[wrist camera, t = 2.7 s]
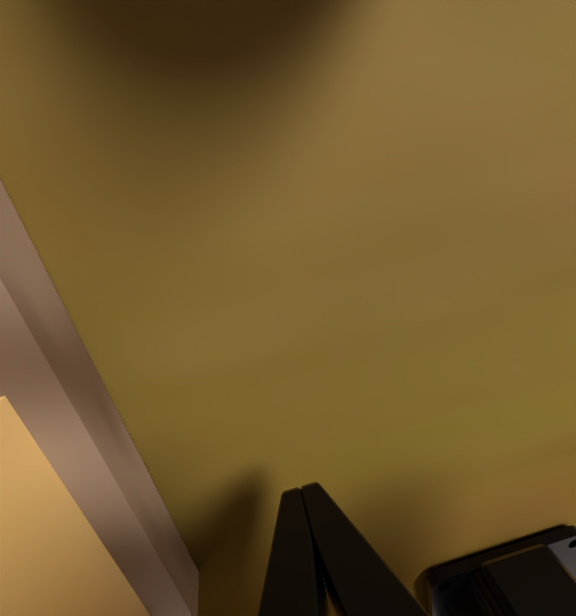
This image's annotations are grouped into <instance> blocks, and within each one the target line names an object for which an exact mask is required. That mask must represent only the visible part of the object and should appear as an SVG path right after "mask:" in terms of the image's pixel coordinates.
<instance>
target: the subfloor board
mask: <svg viewBox="0 0 576 616" xmlns="http://www.w3.org/2000/svg"><path fill="white" fill-rule="evenodd" d="M2 396H6V398H7V399H8V401H9V402H10V404H11V406H12V407H13V409H14V410H15V412H16V413H17V415H18V416H19V418H20V419H21V421H22V422H23V424H24V425H25V427H26V428H27V430H28V431H29V433H30V434H31V436H32V437H33V439H34V440H35V442H36V443H37V445H38V446H39V448H40V449H41V451H42V452H43V454H44V455H45V457H46V458H47V460H48V461H49V463H50V464H51V466H52V467H53V469H54V471H55V472H56V474H57V475H58V477H59V478H60V480H61V481H62V483H63V484H64V486H65V487H66V489H67V490H68V492H69V493H70V495H71V496H72V498H73V499H74V501H75V502H76V504H77V505H78V507H79V508H80V510H81V511H82V513H83V514H84V516H85V517H86V519H87V520H88V522H89V523H90V525H91V526H92V528H93V529H94V531H95V533H96V534H97V536H98V537H99V539H100V540H101V542H102V543H103V545H104V546H105V548H106V549H107V551H108V552H109V554H110V555H111V557H112V558H113V560H114V561H115V563H116V564H117V566H118V567H119V569H120V570H121V572H122V573H123V575H124V576H125V578H126V579H127V581H128V582H129V584H130V585H131V587H132V588H133V590H134V591H135V593H136V594H137V596H138V598H139V599H140V601H141V602H142V604H143V605H144V607H145V608H146V610H147V611H148V613H149V614H150V616H198V592H199V571H198V569H197V567H196V565H195V563H194V561H193V559H192V557H191V556H190V554H189V552H188V550H187V548H186V546H185V544H184V542H183V540H182V538H181V536H180V534H179V532H178V530H177V528H176V526H175V524H174V522H173V520H172V518H171V516H170V514H169V512H168V510H167V508H166V506H165V504H164V502H163V500H162V498H161V496H160V494H159V492H158V490H157V488H156V486H155V484H154V482H153V480H152V478H151V477H150V475H149V473H148V471H147V469H146V467H145V465H144V463H143V461H142V459H141V457H140V455H139V453H138V451H137V449H136V447H135V445H134V443H133V441H132V439H131V437H130V435H129V433H128V431H127V429H126V427H125V425H124V423H123V421H122V419H121V417H120V415H119V413H118V411H117V409H116V407H115V405H114V403H113V401H112V399H111V398H110V396H109V394H108V392H107V390H106V388H105V386H104V384H103V382H102V380H101V378H100V376H99V374H98V372H97V370H96V368H95V366H94V364H93V362H92V360H91V358H90V356H89V354H88V352H87V350H86V348H85V346H84V344H83V342H82V340H81V338H80V336H79V334H78V332H77V330H76V328H75V326H74V324H73V322H72V320H71V319H70V317H69V315H68V313H67V311H66V309H65V307H64V305H63V303H62V301H61V299H60V297H59V295H58V293H57V291H56V289H55V287H54V285H53V283H52V281H51V279H50V277H49V275H48V273H47V271H46V269H45V267H44V265H43V263H42V261H41V259H40V257H39V255H38V253H37V251H36V249H35V247H34V245H33V243H32V241H31V240H30V238H29V236H28V234H27V232H26V230H25V228H24V226H23V224H22V222H21V220H20V218H19V216H18V214H17V212H16V210H15V208H14V206H13V204H12V202H11V200H10V198H9V196H8V194H7V192H6V190H5V188H4V186H3V184H2V182H1V180H0V397H2Z"/></svg>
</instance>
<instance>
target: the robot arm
mask: <svg viewBox="0 0 576 616" xmlns="http://www.w3.org/2000/svg"><path fill="white" fill-rule="evenodd" d="M308 520H309V521H308ZM309 524H310V525H309ZM310 528H311V529H310ZM319 563H320V564H319ZM320 567H321V568H320ZM321 571H322V572H321ZM322 575H323V576H322ZM323 579H324V580H323ZM324 583H325V584H324ZM426 584H427V603H428V613H427V612H426V611H425V609H424V608H423V607H422V606H421V605H420V603H419V602H418V601H417V600H416V599H415V597H414V596H413V595H412V594H411V593H410V591H409V590H408V589H407V588H406V587H405V585H404V584H403V583H402V582H401V581H400V579H399V578H398V577H397V576H396V575H395V573H394V572H393V571H392V570H391V569H390V568H389V566H388V565H387V564H386V563H385V562H384V560H383V559H382V558H381V557H380V556H379V554H378V553H377V552H376V551H375V550H374V548H373V547H372V546H371V545H370V544H369V542H368V541H367V540H366V539H365V538H364V536H363V535H362V534H361V533H360V532H359V530H358V529H357V528H356V527H355V526H354V524H353V523H352V522H351V521H350V520H349V518H348V517H347V516H346V515H345V514H344V512H343V511H342V510H341V509H340V508H339V506H338V505H337V504H336V503H335V502H334V500H333V499H332V498H331V497H330V496H329V494H328V493H327V492H326V491H325V490H324V488H323V487H322V486H321V485H320V484H319V483H318V482H313V483H310V484H306V485H303V486H302V487H301V490H300V488H297V487H296V488H293V489H290V490H286V491H284V492H283V493H282V495H281V500H280V505H279V510H278V515H277V520H276V525H275V531H274V536H273V541H272V546H271V551H270V556H269V561H268V567H267V572H266V577H265V582H264V587H263V592H262V597H261V603H260V608H259V613H258V616H330V611H329V604H328V599H327V593H328V596H329V599H330V602H331V605H332V608H333V611H334V613H335V616H576V527H575V526H567V527H564V528H561V529H558V530H555V531H551V532H548V533H545V534H542V535H539V536H536V537H533V538H530V539H527V540H524V541H521V542H518V543H515V544H511V545H508V546H505V547H502V548H499V549H496V550H493V551H490V552H487V553H484V554H481V555H478V556H475V557H472V558H468V559H465V560H462V561H459V562H456V563H453V564H450V565H447V566H444V567H441V568H438V569H436V570H433V571H432V572H431V573H429V575H428V576H427V579H426ZM325 586H326V589H325ZM326 590H327V593H326Z"/></svg>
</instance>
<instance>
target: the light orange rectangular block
mask: <svg viewBox="0 0 576 616" xmlns="http://www.w3.org/2000/svg"><path fill="white" fill-rule="evenodd" d="M0 616H150V614H149V613H148V611H147V610H146V608H145V607H144V605H143V604H142V602H141V601H140V599H139V598H138V596H137V594H136V593H135V591H134V590H133V588H132V587H131V585H130V584H129V582H128V581H127V579H126V578H125V576H124V575H123V573H122V572H121V570H120V569H119V567H118V566H117V564H116V563H115V561H114V560H113V558H112V557H111V555H110V554H109V552H108V551H107V549H106V548H105V546H104V545H103V543H102V542H101V540H100V539H99V537H98V536H97V534H96V533H95V531H94V529H93V528H92V526H91V525H90V523H89V522H88V520H87V519H86V517H85V516H84V514H83V513H82V511H81V510H80V508H79V507H78V505H77V504H76V502H75V501H74V499H73V498H72V496H71V495H70V493H69V492H68V490H67V489H66V487H65V486H64V484H63V483H62V481H61V480H60V478H59V477H58V475H57V474H56V472H55V471H54V469H53V467H52V466H51V464H50V463H49V461H48V460H47V458H46V457H45V455H44V454H43V452H42V451H41V449H40V448H39V446H38V445H37V443H36V442H35V440H34V439H33V437H32V436H31V434H30V433H29V431H28V430H27V428H26V427H25V425H24V424H23V422H22V421H21V419H20V418H19V416H18V415H17V413H16V412H15V410H14V409H13V407H12V406H11V404H10V402H9V401H8V399H7V398H6V396H2V397H0Z"/></svg>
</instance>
